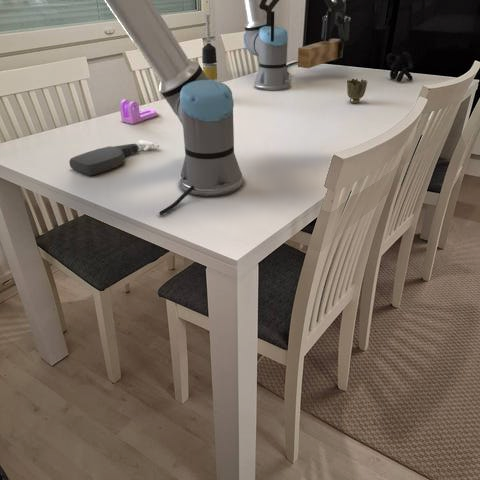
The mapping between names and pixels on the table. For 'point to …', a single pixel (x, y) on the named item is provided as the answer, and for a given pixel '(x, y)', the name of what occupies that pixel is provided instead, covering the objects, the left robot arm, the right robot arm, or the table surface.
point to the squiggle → (399, 66)
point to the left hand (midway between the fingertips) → (299, 40)
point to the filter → (209, 56)
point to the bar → (318, 53)
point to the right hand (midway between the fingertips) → (333, 56)
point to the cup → (356, 89)
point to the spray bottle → (106, 157)
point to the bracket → (134, 112)
